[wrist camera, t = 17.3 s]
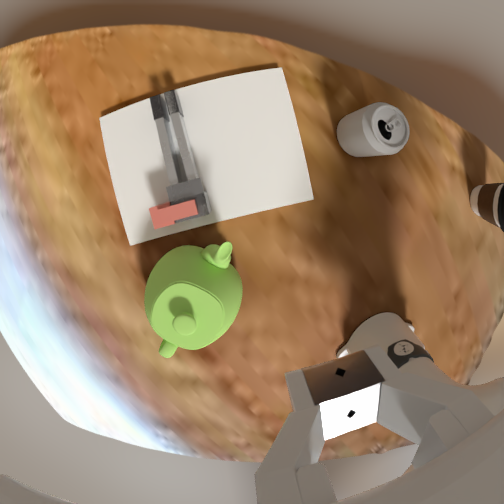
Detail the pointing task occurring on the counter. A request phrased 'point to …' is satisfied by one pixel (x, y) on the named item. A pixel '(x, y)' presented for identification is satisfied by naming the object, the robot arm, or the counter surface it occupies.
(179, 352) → the counter surface
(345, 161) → the counter surface
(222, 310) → the teapot
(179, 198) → the tongs fixed
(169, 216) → the lock tab
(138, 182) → the board
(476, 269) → the counter surface
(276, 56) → the counter surface
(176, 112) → the tongs arm
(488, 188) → the coffee cup
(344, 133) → the can
